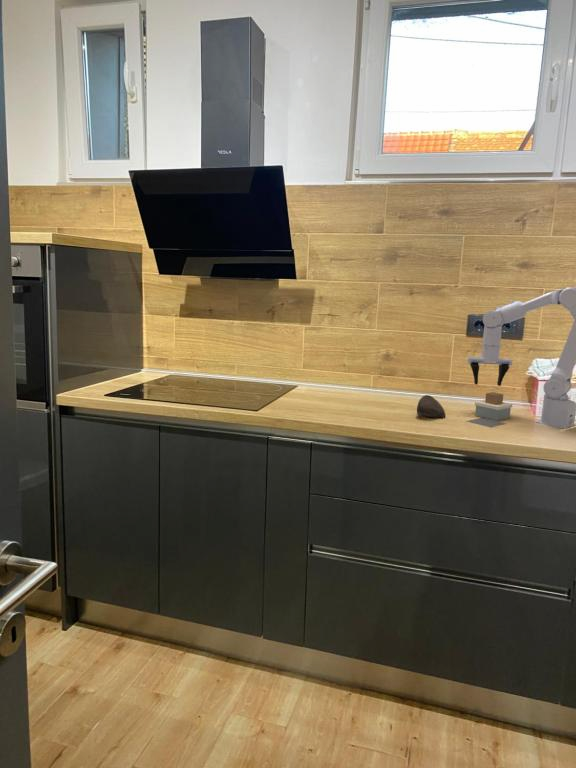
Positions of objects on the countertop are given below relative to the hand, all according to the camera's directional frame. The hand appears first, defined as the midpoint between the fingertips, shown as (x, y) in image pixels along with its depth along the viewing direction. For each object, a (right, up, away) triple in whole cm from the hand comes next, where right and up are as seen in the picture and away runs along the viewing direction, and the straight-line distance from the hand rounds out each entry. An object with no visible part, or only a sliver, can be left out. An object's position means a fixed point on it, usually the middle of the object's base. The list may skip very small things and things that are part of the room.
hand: (487, 384), depth 196 cm
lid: (0, -7, -6) cm, 10 cm away
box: (0, -11, -6) cm, 12 cm away
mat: (-5, -12, -14) cm, 20 cm away
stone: (-22, -11, -8) cm, 26 cm away
